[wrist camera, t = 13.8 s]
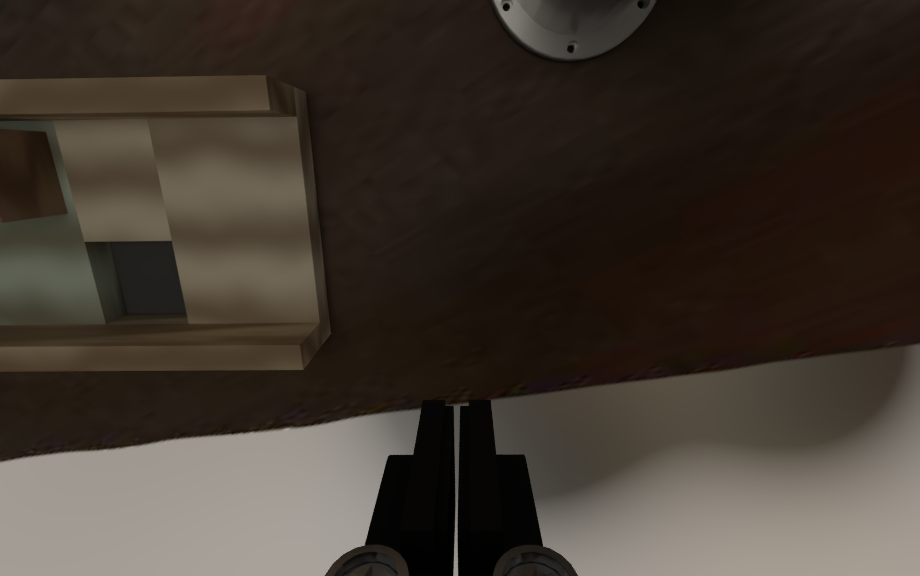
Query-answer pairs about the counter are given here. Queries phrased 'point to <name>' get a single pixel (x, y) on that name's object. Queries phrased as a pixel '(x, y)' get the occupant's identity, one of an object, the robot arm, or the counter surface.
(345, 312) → the counter surface
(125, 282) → the trap pit mat
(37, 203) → the walnut block
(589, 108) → the counter surface
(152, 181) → the channel deck
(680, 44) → the counter surface
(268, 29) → the counter surface
